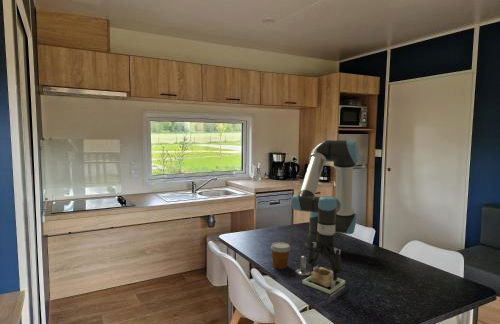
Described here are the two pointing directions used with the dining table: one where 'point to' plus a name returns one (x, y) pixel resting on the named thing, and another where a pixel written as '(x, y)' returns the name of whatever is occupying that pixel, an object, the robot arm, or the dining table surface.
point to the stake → (303, 267)
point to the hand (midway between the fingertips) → (323, 283)
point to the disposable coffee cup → (280, 254)
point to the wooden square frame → (322, 276)
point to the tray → (325, 288)
